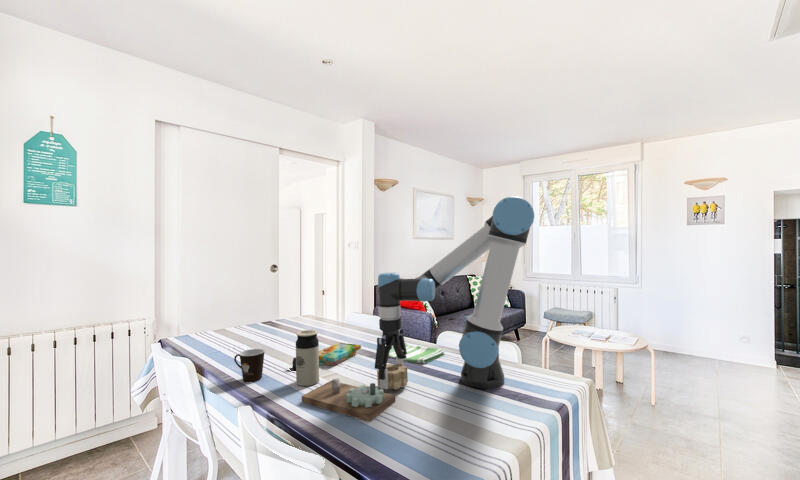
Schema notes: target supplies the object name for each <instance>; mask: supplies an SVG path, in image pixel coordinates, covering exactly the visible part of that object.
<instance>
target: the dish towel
mask: <svg viewBox="0 0 800 480" xmlns="http://www.w3.org/2000/svg"><path fill="white" fill-rule="evenodd" d="M405 346H406V351H407V354H406V355H405V356H406V359H404V358H403V362H404V361H405V362H409V363H416V364H423V365H424V364H427V363H430V362H432V361H434V360H436V359H438V358H440V357H443V356H445V355H446V354H445V350H444V349H442V348H436V347H435V348H434V347H430V346H429V347H428V346H419V345H417V346H416V345H411V344H408V343H406V342H405ZM402 351H403V350H402ZM388 358H392V359H395V360H396V358H398V357H397V355H396V353H395V350H394V348H393V346H392V349H390V352H389V356H388Z"/></svg>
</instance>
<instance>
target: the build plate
mask: <svg viewBox="0 0 800 480" xmlns="http://www.w3.org/2000/svg"><path fill="white" fill-rule="evenodd" d="M292 359H293V360H292V366H291V367H292V368H291V367H289V369H290V370H291V371H296V356H295V357H293V358H292ZM291 371H290V372H291Z"/></svg>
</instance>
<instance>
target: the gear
mask: <svg viewBox="0 0 800 480" xmlns="http://www.w3.org/2000/svg"><path fill="white" fill-rule="evenodd" d="M358 387H359V388H356V389H355V388H351V389H350V390H349V393H347V394H346V399H347V403H349V402H352V406H354V407H358V406H359V405H360V406H365V407H372V404H375V403H377V404H380V403H381V402H382V398H384V393H385V392H384V389H382V388H379V386H378V385H376V383H375V382H373V383H372V382H371V383H369V386H366V385H365V384H364V385H359V386H358Z"/></svg>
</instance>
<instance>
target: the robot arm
mask: <svg viewBox="0 0 800 480" xmlns="http://www.w3.org/2000/svg"><path fill="white" fill-rule="evenodd" d="M534 221H535V211H534V208H533V206H532V204H530V202H529V201H527V199H525V198H523V197H520V196H514V195H513V196H512V195H511V196H507V197H505V198H502V199H501V200H499V201H498V202H497V204H496V205H495V206H494V209H493V210H492V214H491V217H489V218H488V219H487V220H485V222H484V225H483V227H481V228H480V229H479V230H477V231H476V232H475V233H474V234H473V235H470V236H469V238H467V239H466V240H464V242H462V243H461V244H460V245H459V246H457V247H456V248H454V249H453V250H452V251H451V252H450V253H448V254H446V256H444V257H443V258H442V259H440V260H439V261H437V263H435V264H434V265H433V266H431V267H430V268H429V269H428V270H426V271H425V272H424V273H422V274H421V275H420V276H417V277H415V278H401V277H400V274H399V273H398V272H384V273H380V274H378V278H377V292H378V293H377V294H378V311H379V312H378V316H379V325H378V326H379V330H380V331H381V332H382V335H381V337H377V338H376V351H375V352H376V355H375V361H374V369H376V370H378V369H379V379H380V386H379V389H383V390H388V389H389V388H388V374H387V369H386V365H387V364H388V359H389V357H388V356H389V352H390V349H392V347H393V348H394V350H395V353H396V355H397V357H398V358H396V359H395V365H396V364H401V365H402V366H405V363H404V360H403V358H404V359H406V356H405V355H406V354H407V351H406V346H405V343H406V341H405V337H404V329H401V328H402V318H400V317H402V310H401V309H402V307H401V302H404V301H405V302H422V303H424V302H431V301H434V299H435V297H436V290H438V289H439V288H440V287H442V286H443V285H444V284H445V283H447V282H448V281H450V280H451V279H452V278H453V277H455V276H456V275H457V274H459V273H460V272H462V271H463V270H464V269H465V268H466V267H468V266H469V265H471V264H472V263H474V261H476V260H477V259H479V258H480V257H481V256H482V255H484V254H485V253H487V252H488V254H487V259H486V263H485V266H484V271H483V272H482V274H483V275H482V276H481V277H482V278H481V282H480V286H479V289H478V293H477V298H476V300H475V305H474V308H473V309H474V310H473V312H472V314H469V315H466V316H465V317H464V328H463V332H462V336H461V339H460V340H459V343H458V349H459V354H460V356H461V358H462V360H463V362H464V363H463V365H462V369H461V373H460V380H461V383H463V384H464V385H466V386H469V387H472V388H475V389H483V390H484V389H485V390H486V389H496V388H500V387H502V386H503V385H504V384H505V373H504V370H503V367H502V365H501V362H500V353H499V352H500V349H499V348H500V343H501V339H502V335H503V331H504V326H503V325H502V323H501V318H502V317H503V316H502V315H503V313H504V307H505V304H506V300H507V296H508V292H509V289H510V285H511V280H512V278H513V274H514V270H515V267H516V263H517V259H518V255H519V251H520V248H522V247H524V246H526V245H527V240H528V237H529V234H530V230H531V227H532V226H533V223H534ZM402 350H403V351H402Z"/></svg>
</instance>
